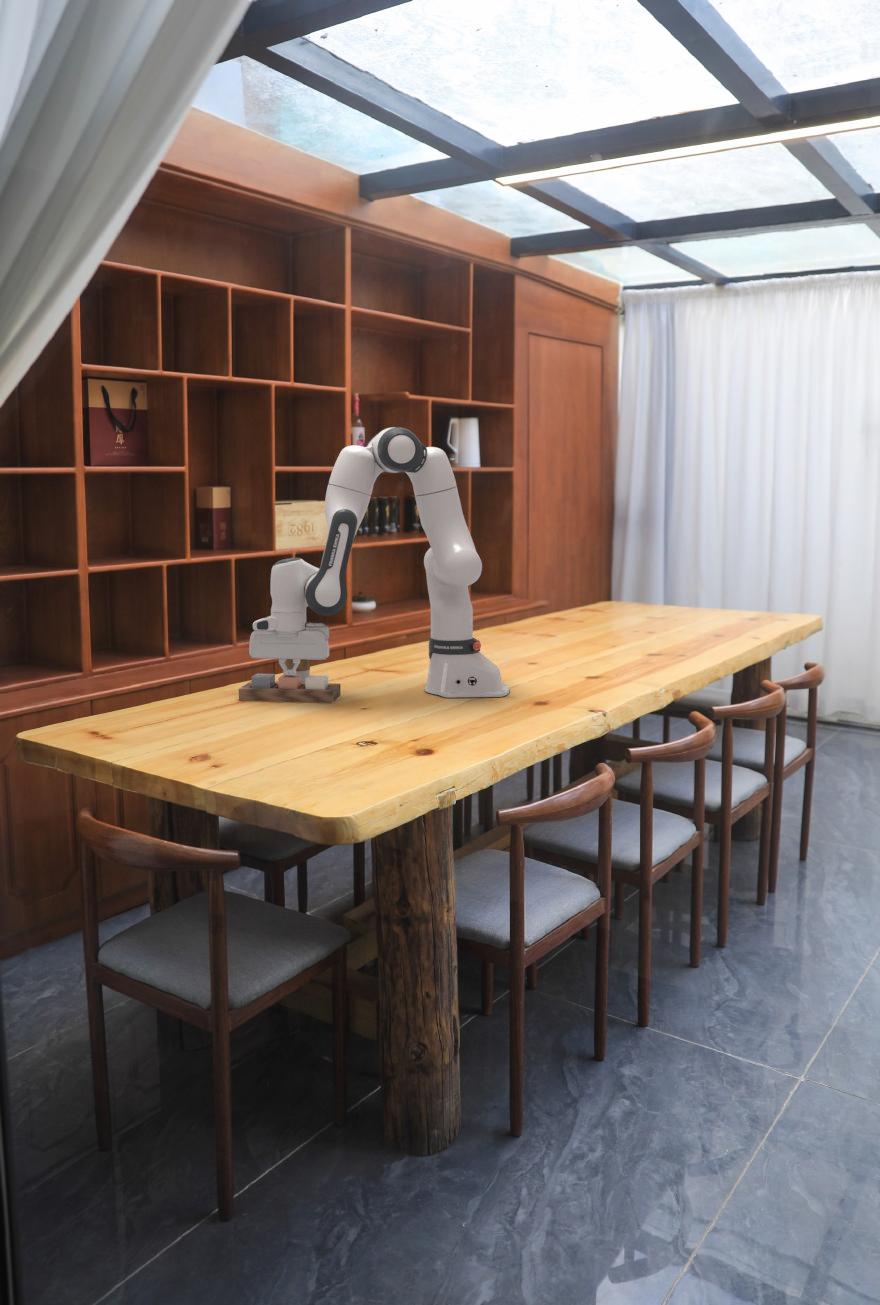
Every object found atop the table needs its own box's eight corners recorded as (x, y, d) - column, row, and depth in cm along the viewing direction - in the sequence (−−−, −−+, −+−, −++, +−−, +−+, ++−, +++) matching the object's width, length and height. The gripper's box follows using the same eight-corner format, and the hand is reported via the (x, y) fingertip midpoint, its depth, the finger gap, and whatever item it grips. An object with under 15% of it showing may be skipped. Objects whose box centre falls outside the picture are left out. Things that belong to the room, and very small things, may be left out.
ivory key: (328, 690, 262) (328, 675, 261) (324, 694, 257) (324, 679, 256) (310, 690, 262) (309, 675, 261) (305, 694, 257) (305, 678, 257)
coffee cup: (307, 685, 276) (307, 631, 273) (278, 684, 277) (277, 630, 275) (317, 680, 284) (316, 626, 281) (288, 678, 285) (287, 625, 283)
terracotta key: (301, 690, 262) (301, 674, 262) (297, 693, 258) (296, 678, 257) (283, 689, 263) (283, 674, 262) (278, 693, 258) (278, 677, 258)
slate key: (275, 689, 263) (274, 674, 262) (270, 693, 258) (269, 677, 258) (257, 688, 264) (256, 673, 263) (251, 692, 259) (251, 677, 258)
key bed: (340, 694, 264) (340, 683, 264) (332, 703, 254) (332, 691, 254) (250, 692, 267) (250, 681, 266) (238, 700, 257) (238, 688, 256)
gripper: (331, 621, 259) (332, 674, 262) (253, 619, 261) (255, 672, 264) (326, 624, 253) (327, 679, 255) (246, 623, 255) (247, 677, 258)
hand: (289, 676), depth 260 cm, fingers closed
